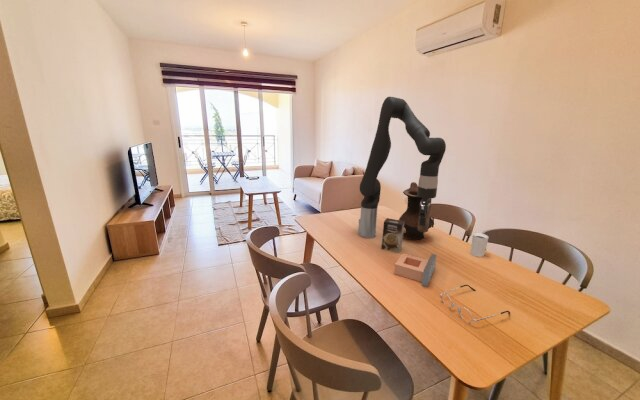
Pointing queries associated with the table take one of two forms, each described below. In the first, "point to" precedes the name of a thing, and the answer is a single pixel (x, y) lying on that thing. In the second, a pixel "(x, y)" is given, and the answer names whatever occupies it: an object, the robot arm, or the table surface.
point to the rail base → (429, 270)
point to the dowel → (425, 228)
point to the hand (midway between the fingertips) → (423, 223)
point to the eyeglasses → (465, 308)
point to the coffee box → (392, 235)
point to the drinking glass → (479, 244)
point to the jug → (413, 214)
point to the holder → (410, 267)
